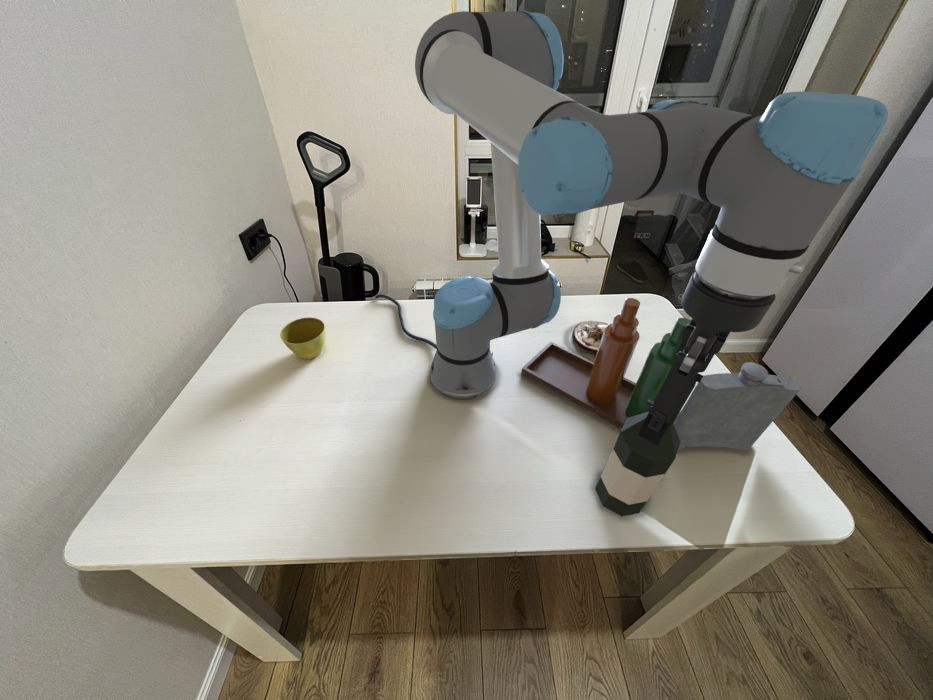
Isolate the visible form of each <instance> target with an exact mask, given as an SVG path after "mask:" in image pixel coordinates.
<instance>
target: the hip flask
mask: <svg viewBox="0 0 933 700" xmlns="http://www.w3.org/2000/svg"><path fill="white" fill-rule="evenodd" d="M801 390H802V385H801V384H800V382H799V381H797V379H796V380H795V379H794V378H792V377H789V376H784V375H783V376H782V375H777V374H776V375H775V374H769V371H768V370H767V369H766V367H764V366H763V365H761V364H759V363H756V362H752V361H748V362H744V363H743V364H742V365H741V367H740V372H725V373H723V372H722V373H712V374H706V375H703V378H702V379H701V381H700V383H698V382H697V383H696V385H695V387H694V389H693V390H692V392H691V394H690V395H689V397H688V399H687V401H686V402H685V404H684V406H683V407H682V409H681V411H680V413H679V414H678V416H677V418H676V419H675V421H674V423H673V424H674V426H675V429H676V432H677V434H678V437H679V440H680V445H679V448H678V450H679V449H685V448H693V447H695V448H696V447H717V448H728V449H736V450H742V451H748V450H750V449H751V447H752V446H753V445H754V444H755V443H756V442H757V440H758V439H759V438H760V437H761V436H762V435H763V434H764V433H765V431H766V430H768V428H769V426H770V425H772V423H773V422H774V421H775V419H777V418H778V416H779V415H780V414H781V412H783V410H785V408H786V407H787V406H788V405H789V404H790V403H791V401H792V400H793V399H794V398H795V397H796V395H797V394H798V393H799V392H800V391H801Z"/></svg>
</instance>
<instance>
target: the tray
mask: <svg viewBox="0 0 933 700" xmlns="http://www.w3.org/2000/svg"><path fill="white" fill-rule="evenodd" d="M593 365H594V362H593V361H592V360H589V359H588V358H585V357H583V356H582V355H579V354H577V353H575V352H573V351H572V350H569V349H567V348H565V347H563V346H561V345H559V344H557V343H555V342H553V341H549V343H548V344H546V345H545V346H544V347H543V348H542V349H541V350H540V351H539V352H538V353H537V354H535V356H533V358H531V359H530V360H529V361H528V362H527V363H526V364H525V365H524V366H522V367H521V371H520V372H521V374H522V375H524V376H526V377H528V378H529V379H531V380H533V381H534V382H536V383H538V384H540V385H541V386H543V387H545V388H547V389H548V390H550V391H552V392H554V393H556V394H558V395H559V396H562V397H564V398H565V399H566V400H568V401H570V402H572V403H574V404H576V405H577V406H579V407H581V408H583V409H585V410H587V411H588V412H590V413H592V414H593V415H595V416H597V417H598V418H601V419H602V420H604V421H606V422H608V423H610V424H611V425H613V426H615V427H617V428H618V429H620V430H622V428H623V426H624V423H625V421H626V419H627V418H628V417H627V415H626V413H625V408H626V405H627V403H628V401H629V398H630V396H631V394H632V392H633V389H634V387H635V385H636V381H635V382H634V381H633V380H631V379H629V378H627V377H624V378H623V381H622V383H621V386H620V389H619V391H618V394H617V396H616V399H615V400H614V401H613V402H612V403H609V404H600V403H597V402H595V401H593V400H592V399H590V398H589V397H588V395H587V393H586V387H587V384H588V381H589V378H590V374H591V371H592V368H593Z"/></svg>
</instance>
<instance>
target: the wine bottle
mask: <svg viewBox="0 0 933 700" xmlns="http://www.w3.org/2000/svg"><path fill="white" fill-rule="evenodd" d="M696 381H697V379H696V378H695V379H694V381H693V382H692V384H691V386H690V388H689V389H688V391H687V393H686V395H685V396H684V398H683V400H682V402H681V403H680V405H679V407H678V409H677V410H676V411H677V413H676V415H675V416H674V418H673V420H672V422H671V423H670V425H669V427H668V428H667V430H666V432H665V433H664V435H663V437H662V439H661V440H660V442H659V444H658V446H657V445H655V444H654V443H652V442H650V441H648V440H646V439H645V438H643V437H641V436H639V435H638V433H639V431H640V429H641V427H642V425H643V423H644V421H645V419H646V417H647V415H648V413H649V412H646V413H642V414H639V415H636V416H632V417H629V418H627V419H626V421H625V423H624V426H623V428H622V429H620V433H619V435H618V436H617V439H616V442H615V443H614V445H613V448H612V450H611V452H610V454H609V457H608V459H607V461H606V463H605V466H604V468H603V470H602V472H601V475H600V477H599V479H598V481H597V483H596V486H595V487H594V490H595V492H596V495H597V497H598V499H599V500H600V503H601V504H602V507H604V508H606V509H607V510H609V511H611V512H612V513H614V514H616V515H618V516H620V517H626V516H631V515H632V516H633V515H636V514H640V513H641V511H643V508H644V507H645V505H646V504H647V502H648V501H649V499H650V498H651V496H652V495H653V494H654V492H655V490H656V489H657V487H658V485H659V484H660V483H661V481H662V479H663V478H664V477H665V475H666V473H667V472H668V470H669V469H670V467H671V466H672V464H673V463H674V461H675V460H676V458H677V455H678V451H679V449H680V448H679V445H680V440H679V437H678V434H677V432H676V429H675V426H674V423H675V421H676V419H677V418H678V416H679V414H680V412H681V411H682V409H683V407H684V406H685V404H686V402H687V401H688V399H689V397H690V395H691V394H692V392H693V390H694V389H695V387H696V385H697V382H696ZM678 448H679V449H678Z"/></svg>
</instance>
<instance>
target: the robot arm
mask: <svg viewBox="0 0 933 700" xmlns="http://www.w3.org/2000/svg"><path fill="white" fill-rule="evenodd" d="M414 60H415V61H414V72H415V77H416V82H417V84H418V86H419V90H420V91H421V93H422V94H423V96H424V97H425V99H426V100H427V101H428V102H429V103H430V104H431V105H433V106H434V107H435V108H436V109H437V110H439V112H442V113H444V114H447V115H457V116H458V117H459V118H460V119H461V120H463V122H465V123H466V124H468V125H469V126H470V127H471V128H472V129H474V130H475V131H476V132H477V133H478V134H480V135H481V136H482V137H483V138H484V139H486V140H487V141H488V142H489V143H490V152H491V153H490V154H491V169H492V182H493V184H492V185H493V196H494V198H493V199H494V212H495V226H496V227H495V229H496V243H497V257H498V262H497V263H496V265H494V266H493V268H492V270H491V275H492V281H491V282H489V281H487V280H486V279H484V278H482V277H478V276H474V277H471V276H461V277H460V276H459V277H457V278H454V279H451V280H449V281H447V282H446V283H444V284H442V286H440V288H439V289H437V292H436V294H435V295H434V299H433V312H432V317H433V320H434V321H433V322H434V331H435V342H434V341H431V340H430V339H427V338H424V337H420V336H417V335H415V334H412V333H411V332H410V331H409V330H407V328H406V327H405V322H404V318H403V312H402V306H401V304H400V303H399V302H398V301H397V300H396V299H394V298H393V297H391V296H389V295H386V294H382V293H381V294H380V293H379V294H377V295H375V296H374V298H375V299H379V298H383V299H386V300H389V301H390V302H392V303H393V304H394V305H396V307H397V313H398V319H399V322H400V327H401V330H402V332H403V333H404V334H405V335H406V336H407V337H409V338H411V339H412V340H416V341H419V342H423V343H426V344H427V345H429V346H431V347H432V348H434V349H435V350H436V351H435V353H434V357H433V359H432V362H431V365H430V380H431V383H432V385H433V387H434V388H435V389H436V390H437V391H438V392H439V393H441V394H442V395H444V396H446V397H448V398H452V399H458V400H470V399H475V398H478V396H479V395H482V394H483V393H486V392H487V391H488V390H489V389H491V387H493V385H494V383H495V381H496V380H497V366H496V362H495V360H494V358H493V355H494V351H491V341H493V340H497V339H499V338H501V337H507V336H510V335H513V334H516V333H519V332H524V331H527V330H530V329H531V330H532V329H536V328H539V327H540V326H543V325H545V324H548V323H549V322H551V321H553V319H554V318H555V317H556V316H557V314H558V312H559V309H560V306H561V299H562V293H561V286H560V285H559V284H558V283H559V279H557V276H556V275H555V274H554V273H553V272H552V271H551V270H550V267H549V264H547V262H545V261H544V260H543V259H542V240H541V239H542V235H541V234H542V233H541V229H542V227H541V215H543V216H554V215H563V214H566V215H575V214H580V213H584V212H587V211H590V210H593V209H595V210H596V209H598V208H603V207H608V206H613V205H617V204H622V203H626V202H633V201H638V200H639V201H640V200H644V199H650V198H655V197H660V196H664V195H670V194H683V195H686V196H689V197H691V198H693V199H696V200H698V201H701V202H703V203H706V204H709V205H712V206H716V207H718V208H720V211H719V212H718V216H717V218H716V221H715V224H714V226H713V228H712V229H711V230H710V232H709V234H708V236H707V239H706V242H705V244H704V246H703V248H702V250H701V252H700V255H699V257H698V259H697V261H696V264H695V271H694V272H693V273H692V274H691V276H690V279H689V281H688V283H687V286H686V287H685V290H684V292H683V294H682V296H681V299H680V302H681V303H680V304H681V307H682V309H683V311H684V313H686V314H687V315H688V317H690V318H691V319H690V320H691V322H690V325H689V324H688V325H687V327H686V329H685V331H684V332H683V334H682V336H681V340H682V342H681V344H680V345H679V347H678V349H677V351H676V353H675V355H674V357H673V359H674V363H673V365H672V367H671V369H670V371H669V373H668V375H667V377H666V379H665V381H664V383H663V385H662V387H661V389H660V391H659V393H658V395H657V397H656V399H655V401H654V400H652V399H649V400H648V402H647V404H646V405H648V406H650V408H649V411H648V412H649V413H648V415H647V417H646V419H645V421H644V423H643V425H642V427H641V429H640V431H639V433H638V435H639V436H641V437H643V438H645V439H646V440H648V441H650V442H652V443H654V444H655V445H657V446H658V444H659V442H660V440H661V439H662V437H663V435H664V433H665V432H666V430H667V428H668V427H669V425H670V423H671V422H672V420H673V418H674V416H675V415H676V413H677V411H676V410H677V409H678V407H679V405H680V403H681V402H682V400H683V398H684V396H685V395H686V393H687V391H688V389H689V388H690V386H691V384H692V382H693V381H694V379H695V378H696V379H697V381H696V383H697V384H698V383H700V381H701V379H702V378H703V376H704V375H703V374H701V373H704V372H705V371H706V370H707V369H708V366H709V365H710V363H711V362H712V359H713V358H714V356H715V355H716V354H719V353H720V351H721V350H722V348H723V346H724V344H725V343H726V342H727V339H728V337H729V335H730V333H744V332H748V331H752V330H753V329H755V328H757V327H758V326H759V325H760V324H761V322H762V320H763V319H764V318H765V316H766V314H767V313H768V311H769V309H770V308H771V307H772V305H773V303H774V302H775V301H776V294H777V293H779V292H781V290H782V288H783V287H784V285H785V284H786V282H787V280H788V279H789V278H790V274H801V273H803V272H804V270H805V267H806V266H805V265H806V264H805V263H803V262H801V261H800V260H801V259H802V257H803V255H804V254H805V253H806V252H807V251H808V249H809V247H810V246H811V243H812V242H813V240H814V239H815V238H816V236H817V235H818V233H819V232H820V230H821V228H822V227H823V226H824V224H825V223H826V221H827V219H828V218H829V217H830V215H831V214H832V212H833V211H834V209H835V208H836V206H837V205H838V203H839V202H840V200H841V199H842V197H843V196H844V194H845V193H846V191H847V190H848V188H849V187H850V186H851V184H852V183H853V182H854V181H855V180H856V179H857V177H858V176H859V175H860V174H861V171H862V166H863V164H864V163H865V161H866V160H867V158H868V155H869V154H870V152H871V151H872V149H873V147H874V146H875V144H876V142H877V140H878V138H879V136H880V134H881V133H882V131H883V129H884V127H885V126H886V124H887V121H888V118H889V111H888V108H887V106H886V105H885V103H883V102H882V101H880V100H878V99H875V98H871V97H867V96H861V95H856V94H850V93H831V92H825V91H789V92H784V93H781V94H779V95H777V96H776V97H775V98H774V99H772V100H771V101H770V102H769V104H768V106H767V108H766V109H765V111H764V113H763V114H761V115H757V114H756V115H755V114H749V113H745V112H741V111H740V112H739V111H734V110H729V109H726V108H721V107H716V106H711V105H706V104H704V103H703V104H702V103H700V101H696V100H674V99H673V100H672V99H665V100H662V101H658V102H656V103H655V104H653V105H652V106H651V107H649V108H648V109H647V110H644V111H638V112H637V111H635V112H627V113H626V112H625V113H617V114H616V113H615V114H604V113H601V112H598V111H596V110H594V109H593V108H590V107H588V106H585V105H584V104H582V103H579V102H577V101H576V100H574V99H572V98H571V97H569V96H567V95H565V94H564V93H561V92H559V91H557V90H558V88H559V86H560V81H559V80H561V78H562V76H563V72H564V71H563V70H564V48H563V43H562V38H561V35H560V32H559V30H558V28H557V26H556V25H555V24H554V23H553V21H552V19H551V18H550V17H549V16H547V14H544V13H541V12H530V11H527V10H523V9H519V10H515V11H514V10H511V11H510V10H509V11H468V10H467V11H465V10H464V11H463V10H462V11H456V12H455V11H454V12H450V13H449V14H446V15H443V16H442V17H440V18H439V19H437V20H436V21H434V22H433V23H432V24H431V25H429V27H428V28H427V29H426V31H425V32H424V33H423V35H422V37H421V38H420V41H419V43H418V46H417V48H416V53H415V59H414ZM685 346H686V347H685ZM684 348H685V350H684ZM683 350H684V353H683Z"/></svg>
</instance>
